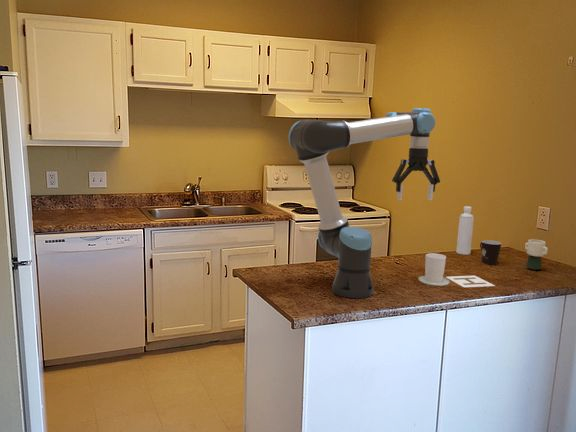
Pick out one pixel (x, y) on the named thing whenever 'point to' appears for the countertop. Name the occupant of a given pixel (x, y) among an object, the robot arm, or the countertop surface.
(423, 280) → the coaster
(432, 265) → the white cup
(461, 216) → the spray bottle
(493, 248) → the coffee mug
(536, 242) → the character mug
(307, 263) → the countertop surface
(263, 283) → the countertop surface
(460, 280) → the white square tray
